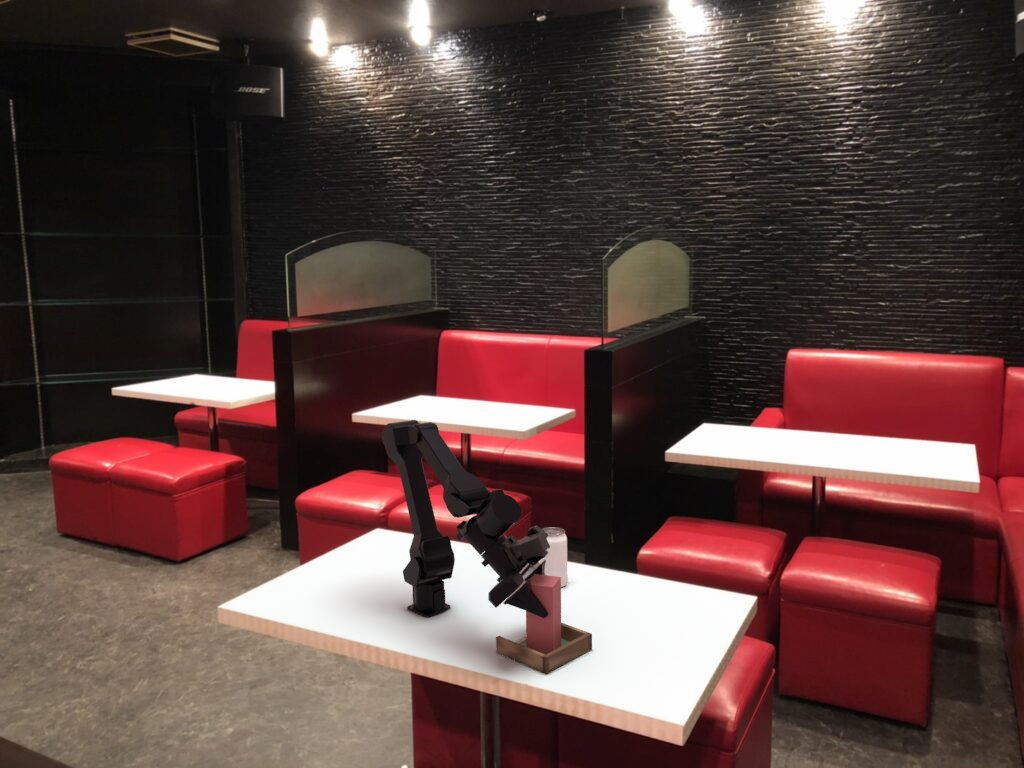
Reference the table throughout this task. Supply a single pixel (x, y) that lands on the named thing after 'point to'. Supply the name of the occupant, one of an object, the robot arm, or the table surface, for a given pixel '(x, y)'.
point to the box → (571, 648)
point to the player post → (546, 630)
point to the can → (556, 554)
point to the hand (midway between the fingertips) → (551, 609)
